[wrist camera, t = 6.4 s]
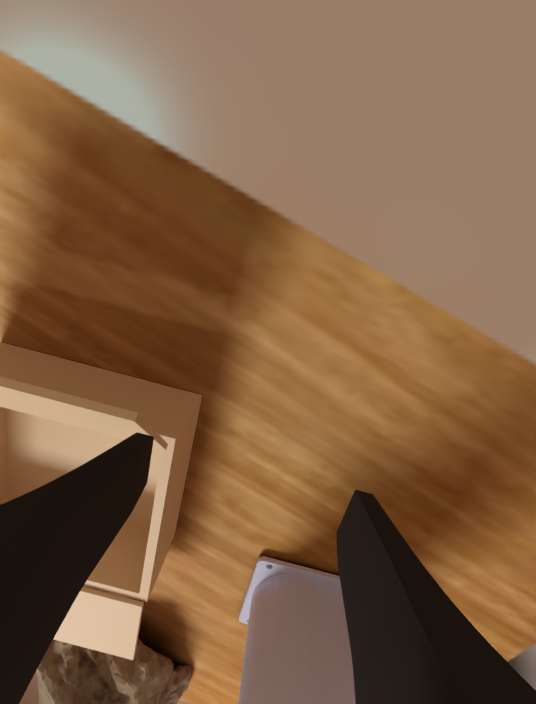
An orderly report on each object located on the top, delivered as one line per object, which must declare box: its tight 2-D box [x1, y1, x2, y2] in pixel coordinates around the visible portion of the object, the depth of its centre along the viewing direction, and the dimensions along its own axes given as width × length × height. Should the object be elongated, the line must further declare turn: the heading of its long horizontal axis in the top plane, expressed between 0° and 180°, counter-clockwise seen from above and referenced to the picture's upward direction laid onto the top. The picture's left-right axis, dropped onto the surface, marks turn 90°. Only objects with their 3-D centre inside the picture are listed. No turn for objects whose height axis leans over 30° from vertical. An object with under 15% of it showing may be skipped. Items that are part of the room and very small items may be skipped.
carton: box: [0, 342, 203, 660], centre depth 22 cm, size 14×19×5 cm
